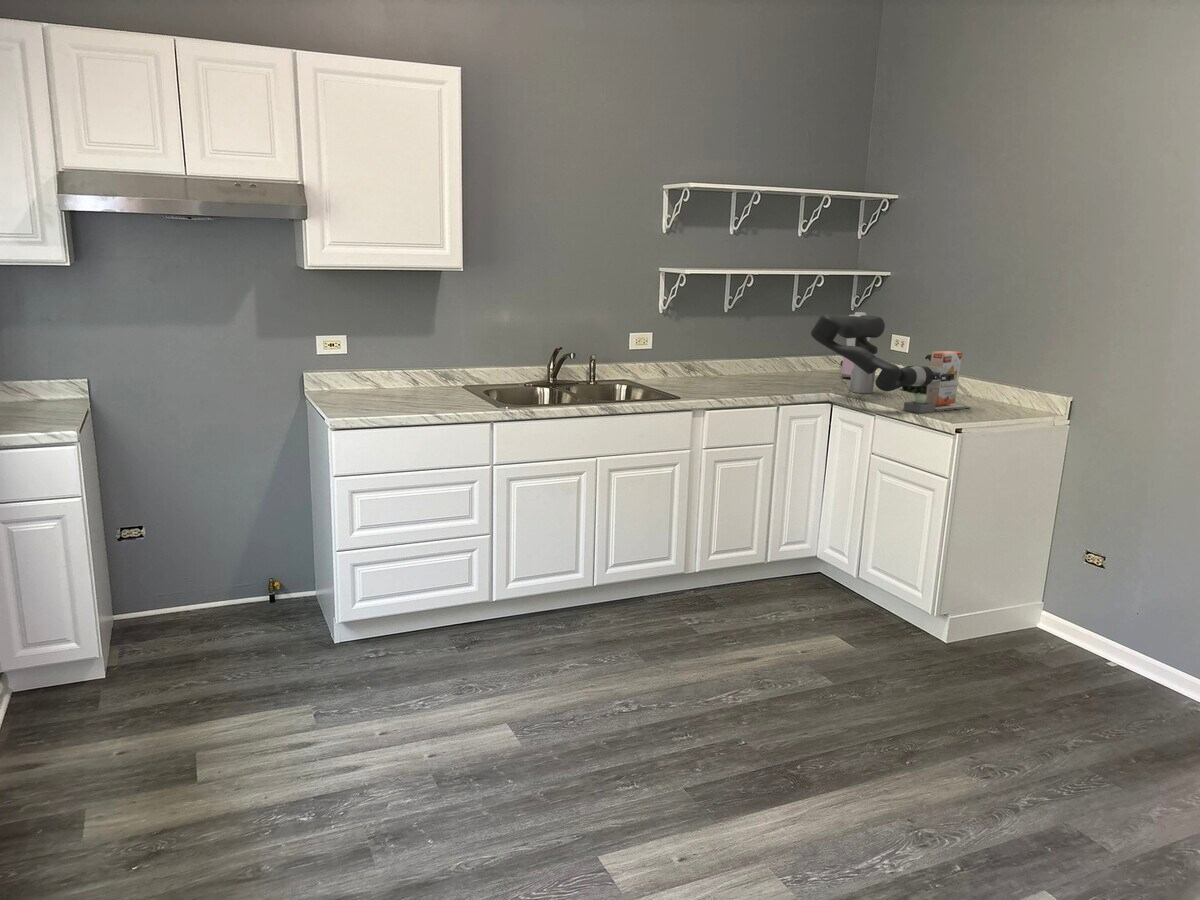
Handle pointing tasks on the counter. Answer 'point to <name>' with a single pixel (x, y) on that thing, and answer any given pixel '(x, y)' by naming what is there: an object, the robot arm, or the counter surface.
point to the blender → (846, 363)
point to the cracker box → (947, 389)
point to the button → (920, 399)
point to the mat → (949, 407)
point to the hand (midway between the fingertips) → (945, 375)
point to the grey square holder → (919, 407)
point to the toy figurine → (917, 388)
